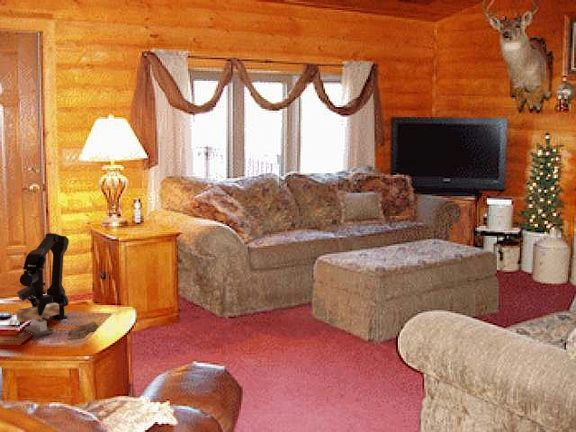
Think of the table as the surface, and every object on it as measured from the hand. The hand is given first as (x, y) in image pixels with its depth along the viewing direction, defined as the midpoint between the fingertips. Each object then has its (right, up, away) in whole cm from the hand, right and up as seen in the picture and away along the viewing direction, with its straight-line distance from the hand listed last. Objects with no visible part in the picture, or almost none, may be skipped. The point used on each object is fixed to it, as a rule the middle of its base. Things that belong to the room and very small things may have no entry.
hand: (38, 314), depth 320 cm
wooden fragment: (+19, -8, +4) cm, 21 cm away
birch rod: (0, -1, 0) cm, 1 cm away
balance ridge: (0, -8, +1) cm, 8 cm away
